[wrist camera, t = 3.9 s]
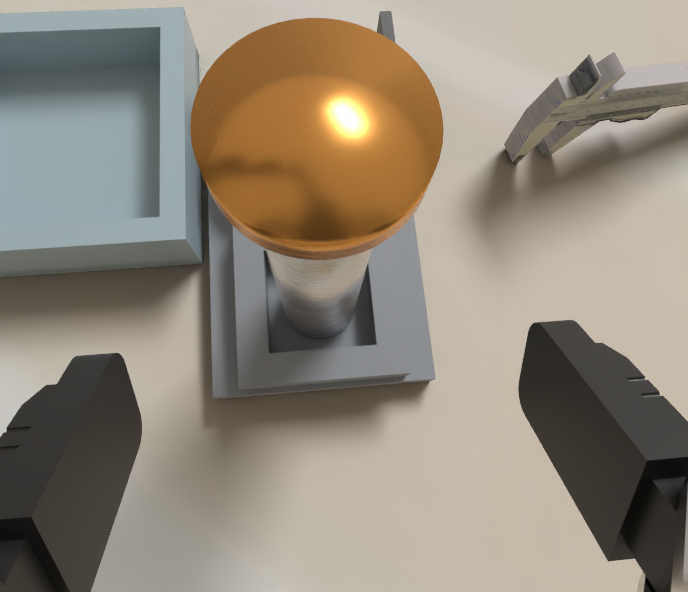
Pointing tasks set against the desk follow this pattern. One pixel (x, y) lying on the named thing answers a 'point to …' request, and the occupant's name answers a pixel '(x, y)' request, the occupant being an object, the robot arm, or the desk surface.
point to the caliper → (595, 102)
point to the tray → (98, 141)
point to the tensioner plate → (305, 353)
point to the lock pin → (317, 155)
